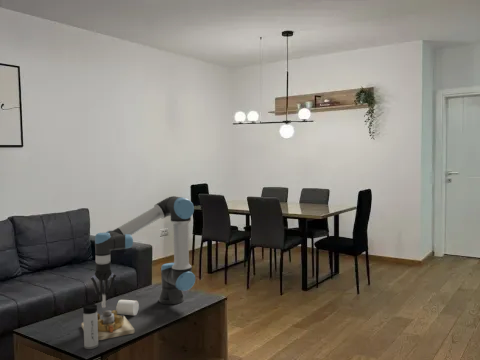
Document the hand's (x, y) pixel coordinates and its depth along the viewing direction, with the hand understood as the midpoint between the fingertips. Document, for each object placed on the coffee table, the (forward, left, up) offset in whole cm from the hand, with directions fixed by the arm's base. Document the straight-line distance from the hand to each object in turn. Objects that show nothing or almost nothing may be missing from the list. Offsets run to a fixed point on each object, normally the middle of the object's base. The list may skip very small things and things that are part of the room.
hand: (103, 306), depth 230 cm
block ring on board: (0, +6, -10) cm, 12 cm away
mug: (-16, -12, -10) cm, 23 cm away
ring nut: (0, +8, -8) cm, 11 cm away
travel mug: (+11, +22, -10) cm, 27 cm away
